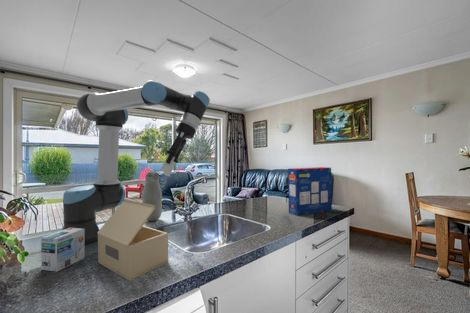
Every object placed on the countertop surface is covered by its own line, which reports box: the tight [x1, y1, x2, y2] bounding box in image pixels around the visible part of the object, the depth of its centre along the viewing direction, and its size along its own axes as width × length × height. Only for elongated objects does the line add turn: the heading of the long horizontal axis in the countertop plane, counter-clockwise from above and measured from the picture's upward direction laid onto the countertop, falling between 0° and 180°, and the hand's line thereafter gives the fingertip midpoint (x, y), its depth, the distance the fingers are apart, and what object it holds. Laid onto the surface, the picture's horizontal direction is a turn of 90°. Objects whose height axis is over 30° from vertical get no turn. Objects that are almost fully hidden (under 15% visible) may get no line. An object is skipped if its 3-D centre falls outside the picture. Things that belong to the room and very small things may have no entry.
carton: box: [97, 225, 169, 281], centre depth 78 cm, size 20×14×10 cm
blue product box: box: [287, 166, 333, 217], centre depth 144 cm, size 28×8×28 cm, turn 114°
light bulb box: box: [40, 228, 86, 273], centre depth 77 cm, size 11×7×11 cm, turn 168°
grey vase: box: [141, 171, 163, 222], centre depth 128 cm, size 10×10×28 cm
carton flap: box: [97, 199, 157, 246], centre depth 76 cm, size 19×14×1 cm
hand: (164, 173), depth 87 cm, fingers open, 13 cm apart
